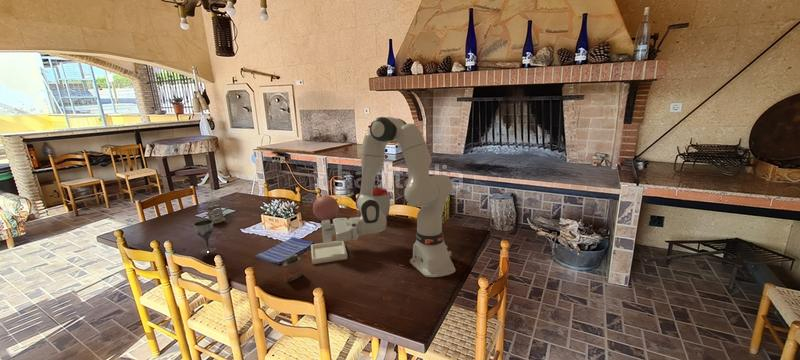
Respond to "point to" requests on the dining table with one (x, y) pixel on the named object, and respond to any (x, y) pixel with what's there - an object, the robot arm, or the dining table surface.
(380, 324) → the dining table surface
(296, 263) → the lighter
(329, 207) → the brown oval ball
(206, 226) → the wine glass
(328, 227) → the block
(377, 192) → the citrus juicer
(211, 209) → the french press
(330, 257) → the tray
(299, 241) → the dish towel
